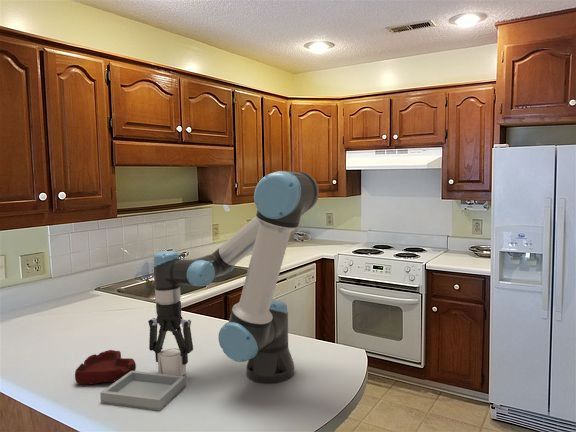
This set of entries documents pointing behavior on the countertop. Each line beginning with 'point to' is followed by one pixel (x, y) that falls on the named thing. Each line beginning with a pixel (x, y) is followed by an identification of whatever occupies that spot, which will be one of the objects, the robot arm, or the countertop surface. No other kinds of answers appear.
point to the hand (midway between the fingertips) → (172, 372)
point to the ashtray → (104, 368)
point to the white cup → (170, 361)
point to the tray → (143, 390)
